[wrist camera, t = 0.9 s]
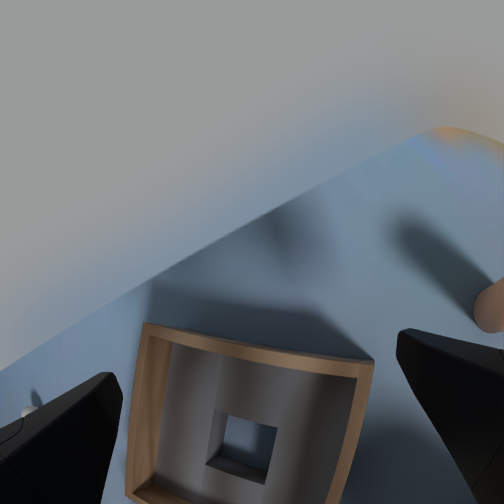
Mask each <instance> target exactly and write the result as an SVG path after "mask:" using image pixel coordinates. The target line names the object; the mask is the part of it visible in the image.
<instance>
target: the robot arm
mask: <svg viewBox="0 0 504 504" xmlns="http://www.w3.org/2000/svg"><path fill="white" fill-rule="evenodd" d="M396 358H397V361H398V363H399V365H400V367H401V369H402V371H403V373H404V375H405V377H406V379H407V381H408V383H409V385H410V387H411V389H412V391H413V393H414V395H415V396H416V398H417V400H418V401H419V403H420V404H421V406H422V408H423V409H424V411H425V412H426V414H427V416H428V417H429V419H430V420H431V422H432V424H433V425H434V427H435V429H436V430H437V432H438V434H439V435H440V437H441V439H442V440H443V442H444V444H445V445H446V447H447V449H448V450H449V452H450V454H451V455H452V457H453V459H454V461H455V462H456V464H457V466H458V468H459V469H460V471H461V473H462V475H463V477H464V478H465V480H466V482H467V484H468V486H469V488H470V489H472V490H471V492H472V493H473V495H474V497H475V499H476V501H477V503H478V504H504V350H502V349H499V350H498V349H497V348H493V347H488V346H484V345H480V344H475V343H471V342H466V341H462V340H458V339H453V338H449V337H445V336H441V335H437V334H433V333H428V332H424V331H420V330H416V329H412V328H408V329H405V330H401V331H400V332H399V333H398V337H397V348H396ZM122 402H123V394H122V391H121V388H120V386H119V384H118V381H117V379H116V376H115V375H114V373H112V372H101V373H99V374H97V375H95V376H94V377H92V378H90V379H89V380H87V381H85V382H83V383H82V384H80V385H78V386H76V387H75V388H73V389H71V390H69V391H68V392H66V393H64V394H62V395H61V396H59V397H57V398H55V399H54V400H52V401H50V402H48V403H47V404H45V405H43V406H41V407H40V408H38V409H36V410H34V411H32V412H31V413H29V414H27V415H25V417H21V418H20V419H18V420H16V421H14V422H12V423H10V424H8V425H6V426H4V427H2V428H0V504H101V499H102V495H103V490H104V486H105V482H106V477H107V473H108V469H109V465H110V461H111V457H112V453H113V450H114V446H115V442H116V438H117V433H118V427H119V420H120V414H121V408H122Z"/></svg>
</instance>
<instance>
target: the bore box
mask: <svg viewBox="0 0 504 504" xmlns="http://www.w3.org/2000/svg"><path fill="white" fill-rule="evenodd" d="M374 362H375V360H369V359H359V358H350V357H341V356H333V355H325V354H318V353H310V352H303V351H297V350H290V349H284V348H278V347H272V346H266V345H260V344H255V343H249V342H244V341H239V340H234V339H229V338H224V337H219V336H215V335H210V334H205V333H201V332H196V331H192V330H188V329H182V328H176V327H169V326H163V325H157V324H151V323H146V322H143V327H142V333H141V339H140V345H139V351H138V357H137V364H136V371H135V378H134V385H133V393H132V401H131V410H130V420H129V430H128V442H127V457H126V475H125V496H127V497H128V498H130V499H131V500H133V501H134V502H136V503H137V504H339V501H340V498H341V496H342V493H343V490H344V487H345V484H346V481H347V478H348V474H349V471H350V468H351V465H352V461H353V458H354V454H355V451H356V447H357V443H358V440H359V436H360V432H361V428H362V424H363V419H364V415H365V411H366V406H367V402H368V397H369V392H370V387H371V381H372V376H373V370H374ZM228 414H229V415H232V416H236V417H239V418H242V419H246V420H250V421H253V422H257V423H261V424H265V425H269V426H273V427H277V428H278V429H277V434H276V438H275V443H274V447H273V452H272V456H271V461H270V465H269V469H268V471H265V470H261V469H258V468H254V467H251V466H248V465H245V464H242V463H239V462H236V461H233V460H230V459H227V458H224V457H221V456H220V455H221V450H222V444H223V439H224V433H225V427H226V422H227V416H228Z"/></svg>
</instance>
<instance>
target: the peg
mask: <svg viewBox="0 0 504 504" xmlns="http://www.w3.org/2000/svg"><path fill="white" fill-rule="evenodd" d="M473 314H474V319H475V322H476V324H477V325H478V327H479V328H480V329H481V330H482V331H484V332H487V333H496V332H502V331H504V278H502V279H500V280H499V281H497V282H496V283H494V284H492V285H491V286H489V287H487V288H486V289H484V290H483V291H481V292H480V293H479V295H478V296H477V298H476V300H475V303H474V308H473Z"/></svg>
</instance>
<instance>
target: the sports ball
mask: <svg viewBox="0 0 504 504" xmlns="http://www.w3.org/2000/svg"><path fill="white" fill-rule="evenodd" d="M36 409H38V408H37V407H35V406H27V407H25V408H24V409H23V411H22V415H21V417H25V415H27V414H29V413H31V412H32V411H34V410H36Z"/></svg>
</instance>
